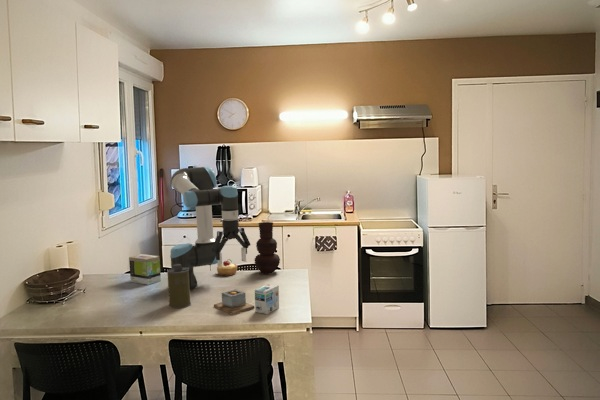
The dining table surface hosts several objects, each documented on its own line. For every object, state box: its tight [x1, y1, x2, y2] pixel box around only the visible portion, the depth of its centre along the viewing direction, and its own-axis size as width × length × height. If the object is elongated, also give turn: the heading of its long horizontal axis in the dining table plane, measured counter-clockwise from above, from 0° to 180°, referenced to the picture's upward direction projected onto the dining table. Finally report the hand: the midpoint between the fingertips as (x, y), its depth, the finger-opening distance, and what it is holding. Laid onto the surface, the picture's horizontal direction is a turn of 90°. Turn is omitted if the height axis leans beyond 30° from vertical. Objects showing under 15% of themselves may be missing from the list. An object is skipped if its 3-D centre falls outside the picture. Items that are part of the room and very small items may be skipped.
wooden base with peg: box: [213, 292, 255, 315], centre depth 238 cm, size 16×12×7 cm
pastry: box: [216, 258, 238, 276], centre depth 300 cm, size 12×12×9 cm
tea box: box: [128, 253, 162, 286], centre depth 287 cm, size 15×10×15 cm
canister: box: [166, 264, 192, 309], centre depth 244 cm, size 11×10×20 cm
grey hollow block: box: [221, 288, 247, 309], centre depth 238 cm, size 8×8×6 cm
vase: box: [253, 221, 281, 275], centre depth 298 cm, size 15×15×30 cm
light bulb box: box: [254, 283, 280, 315], centre depth 234 cm, size 11×7×11 cm, turn 148°
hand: (232, 263), depth 236 cm, fingers open, 13 cm apart
